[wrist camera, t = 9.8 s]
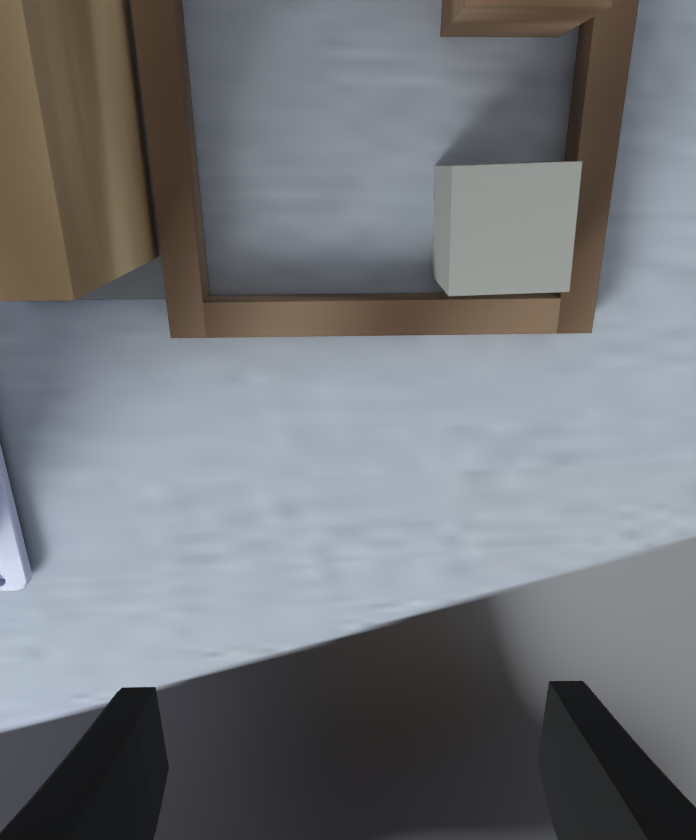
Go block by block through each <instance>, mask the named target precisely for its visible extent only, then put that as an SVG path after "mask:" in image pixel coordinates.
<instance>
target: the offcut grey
mask: <svg viewBox="0 0 696 840" xmlns="http://www.w3.org/2000/svg"><path fill="white" fill-rule="evenodd" d="M581 170H582V161H574V162H526V163H499V164H471V165H443V166H435V170H434V227H433V278H434V279H435V280H436V281H437V283H438V284H439V285H440V286H441V288H442V289H443V290H444V291H445V292H446V294H447V295H448V296H469V295H497V294H525V293H553V292H569V291H570V281H571V270H572V260H573V250H574V240H575V230H576V220H577V210H578V200H579V190H580V180H581Z"/></svg>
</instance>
